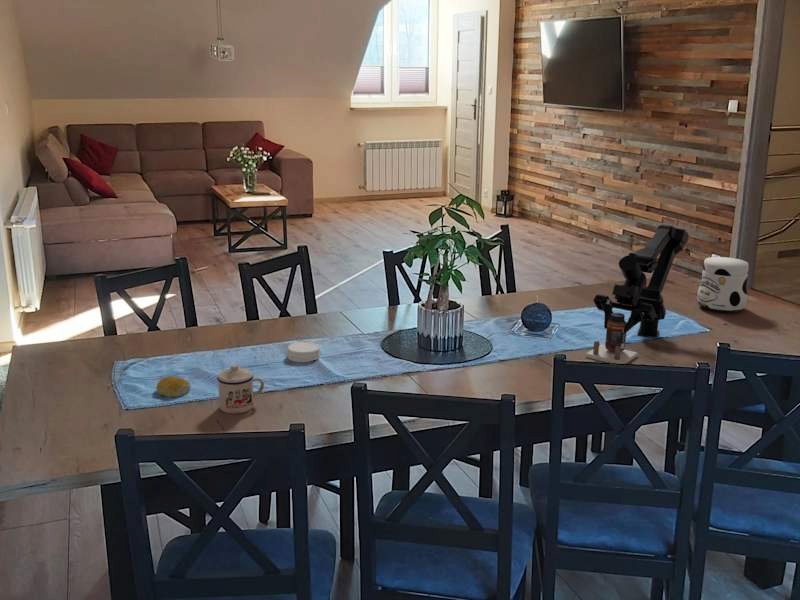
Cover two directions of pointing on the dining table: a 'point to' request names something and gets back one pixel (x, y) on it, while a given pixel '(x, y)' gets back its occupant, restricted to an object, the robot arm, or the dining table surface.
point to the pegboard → (610, 354)
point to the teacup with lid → (237, 390)
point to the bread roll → (173, 387)
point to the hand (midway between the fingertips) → (614, 330)
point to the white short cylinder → (303, 352)
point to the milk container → (723, 284)
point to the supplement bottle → (615, 332)
